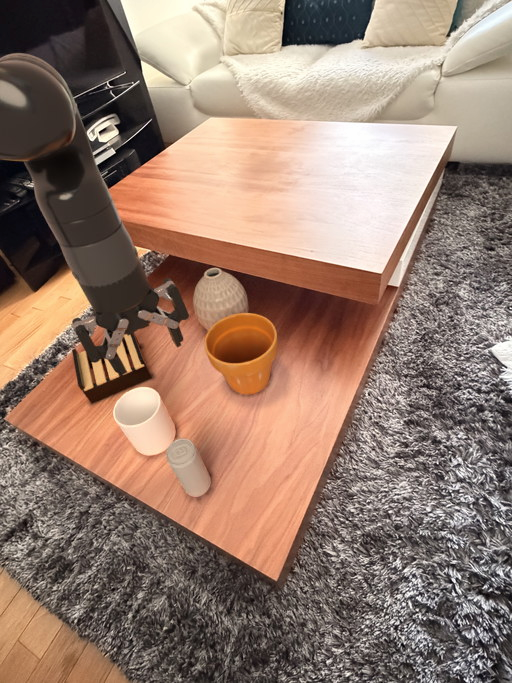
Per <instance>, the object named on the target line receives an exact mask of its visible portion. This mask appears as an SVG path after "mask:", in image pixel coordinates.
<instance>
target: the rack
mask: <svg viewBox="0 0 512 683" xmlns="http://www.w3.org/2000/svg"><path fill="white" fill-rule="evenodd" d="M100 345H102V343H101V344H100ZM141 349H142V345H141V344H140V342H139V340H138V338H137V335H136V332H134V333H133V334H130V335H127V334H126V335H123V338H122V341H121V344H120V346H118V348H117V351H116V352H117V354H118V356H119V357H120V359H121V361H122V363H123V365H124V366H125V369H126V371H127V373H125V374H122V373H121V372H119V373H116V372H115V371H114V369H113V367H112V366H111V364H110V363H109V361H108V360H107V359H100V360H99V361H98V362H96V363H93V362H91V360H90V359H89V357H88V355H87V353H86V351H85V350H83V351H80V352H78V350H77V349H76V348H73V349H71V353H72V358H73V364H74V369H75V375H76V381H77V387H78V388H79V389H80V390H81V391H82V393H83V395H85V397H86V398H87V400H88V401H89V402H90V404H91V405H93V404H95V403H97V402H101V401H102V400H104V399H107V398H109V397H111V396H114V395H116V394H118V393H120V392H123V391H125V390H127V389H128V390H129V389H130V388H132V387H135V386H137V385H139V384H141V383H144V382H146V381H149V380H151V379H153V375H152V373H151V371H150V369H149V367H148V364H146V362H145V359H144V356H143V353H142V351H141ZM128 355H130V359H131V362H132V364H133V367H131V364H130V361H129V357H128ZM104 364H105V367H106V370H107V374H108V377H107V376H106V373H105V368H104ZM91 370H93V375H94V380H95V383H94V380H93V376H92V372H91Z"/></svg>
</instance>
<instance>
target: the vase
mask: <svg viewBox="0 0 512 683" xmlns="http://www.w3.org/2000/svg"><path fill="white" fill-rule="evenodd" d="M192 307H193V312H194V314H195V317H196V319H197V321H198V322H199V324H200V325H201V326H202V327H203V328H204V329H205V330H207V332H208V331H209V329H210V328H211V327H212V326H213V325H214V324H215V323H217V322H218V321H220V320H221V319H223V318H225V317H228V316H230V315H234V314H239V313H249V299H248V295H247V292H246V290H245V288H244V286H243V284H242V283H241V282H240V280H238V279H237V278H236V277H235V276H233V275H232V274H231V273H228V272H226V271H224V270H222V269H221V268H218V267H211V268H208V269H207V270H205V271H204V273H203V276H202V277H201V278H200V279H199V281H198V282H197V284H196V285H195V287H194V291H193V296H192Z"/></svg>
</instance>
